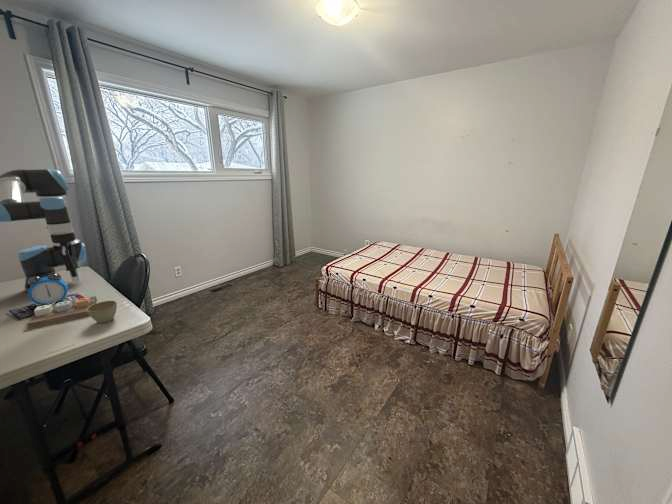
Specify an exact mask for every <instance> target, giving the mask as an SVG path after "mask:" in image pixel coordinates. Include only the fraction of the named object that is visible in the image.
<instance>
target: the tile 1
mask: <svg viewBox="0 0 672 504" xmlns="http://www.w3.org/2000/svg"><path fill="white" fill-rule="evenodd" d="M52 311H53V307H52V304H49V305H39V306H36V308H35V309H34V310H33V312H34V314H35V315H36V316H41V315H46V314H51V313H52Z"/></svg>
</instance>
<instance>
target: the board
mask: <svg viewBox="0 0 672 504" xmlns="http://www.w3.org/2000/svg"><path fill="white" fill-rule="evenodd" d="M89 297H90V300H91V304H90V305H89V306H84V307H80V308H76V305H75V301H76V300H77V299H73V300H71V301H72V305H73V306H72V308H71V309H70V310H65V311H60V312H57V311H56V308H55V306H56V304H57V303H56V304H52V307H53V311H52V313H51V314H46V315H41V316H36V315H35V313H34V314H33V315H32V317H31V318H30V319H28V320H29V321H28V322H27V323H26V325H27V328H28V329H33V328H39V327H42V326H47V325H52V324H56V323H61V322H64V321H71V320H74V319H75V320H76V319H78V318H83V317H87V316H90V315H89V314H88V312H87V308H88V307H90V306H92V305H94V304H96V303H98V299H97V296H96V295H94V296H89Z"/></svg>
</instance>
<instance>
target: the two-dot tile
mask: <svg viewBox="0 0 672 504" xmlns="http://www.w3.org/2000/svg"><path fill="white" fill-rule="evenodd" d="M72 306H73V305H72V300H71V299H70V300H65V301H62V302H58V303H56V306H55V308H56V311H57V312H60V311H65V310H70V309H71V308H72Z"/></svg>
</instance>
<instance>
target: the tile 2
mask: <svg viewBox="0 0 672 504" xmlns="http://www.w3.org/2000/svg"><path fill="white" fill-rule="evenodd" d="M90 297H91V296H85V297H80V298H76V299H75V300H76V301H75V305H76V308H80V307H84V306H89V305H90V304H91V300H90Z"/></svg>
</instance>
